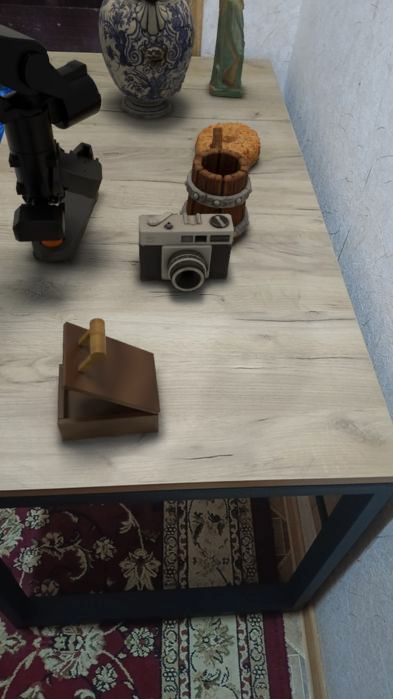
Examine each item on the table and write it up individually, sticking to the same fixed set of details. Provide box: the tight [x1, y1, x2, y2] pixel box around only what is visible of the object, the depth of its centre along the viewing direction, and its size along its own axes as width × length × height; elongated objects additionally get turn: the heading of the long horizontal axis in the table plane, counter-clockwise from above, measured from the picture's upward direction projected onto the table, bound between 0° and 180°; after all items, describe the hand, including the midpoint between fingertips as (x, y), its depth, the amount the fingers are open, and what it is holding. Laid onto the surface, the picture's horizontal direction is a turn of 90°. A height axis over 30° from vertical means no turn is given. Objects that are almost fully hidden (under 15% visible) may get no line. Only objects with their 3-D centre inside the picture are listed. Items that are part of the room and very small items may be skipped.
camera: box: [137, 212, 234, 292], centre depth 72 cm, size 14×9×10 cm, turn 88°
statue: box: [209, 0, 246, 98], centre depth 104 cm, size 7×8×25 cm
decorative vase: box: [98, 0, 196, 120], centre depth 96 cm, size 21×19×28 cm
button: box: [42, 239, 64, 248], centre depth 76 cm, size 3×3×2 cm
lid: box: [61, 317, 161, 414], centre depth 54 cm, size 12×8×5 cm
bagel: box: [194, 121, 262, 169], centre depth 96 cm, size 13×14×5 cm
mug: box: [178, 127, 253, 242], centre depth 80 cm, size 12×14×15 cm
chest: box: [56, 363, 160, 442], centre depth 60 cm, size 11×8×4 cm
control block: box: [31, 190, 100, 263], centre depth 80 cm, size 20×6×3 cm, turn 173°
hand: (51, 238), depth 75 cm, fingers closed, pressing on button
